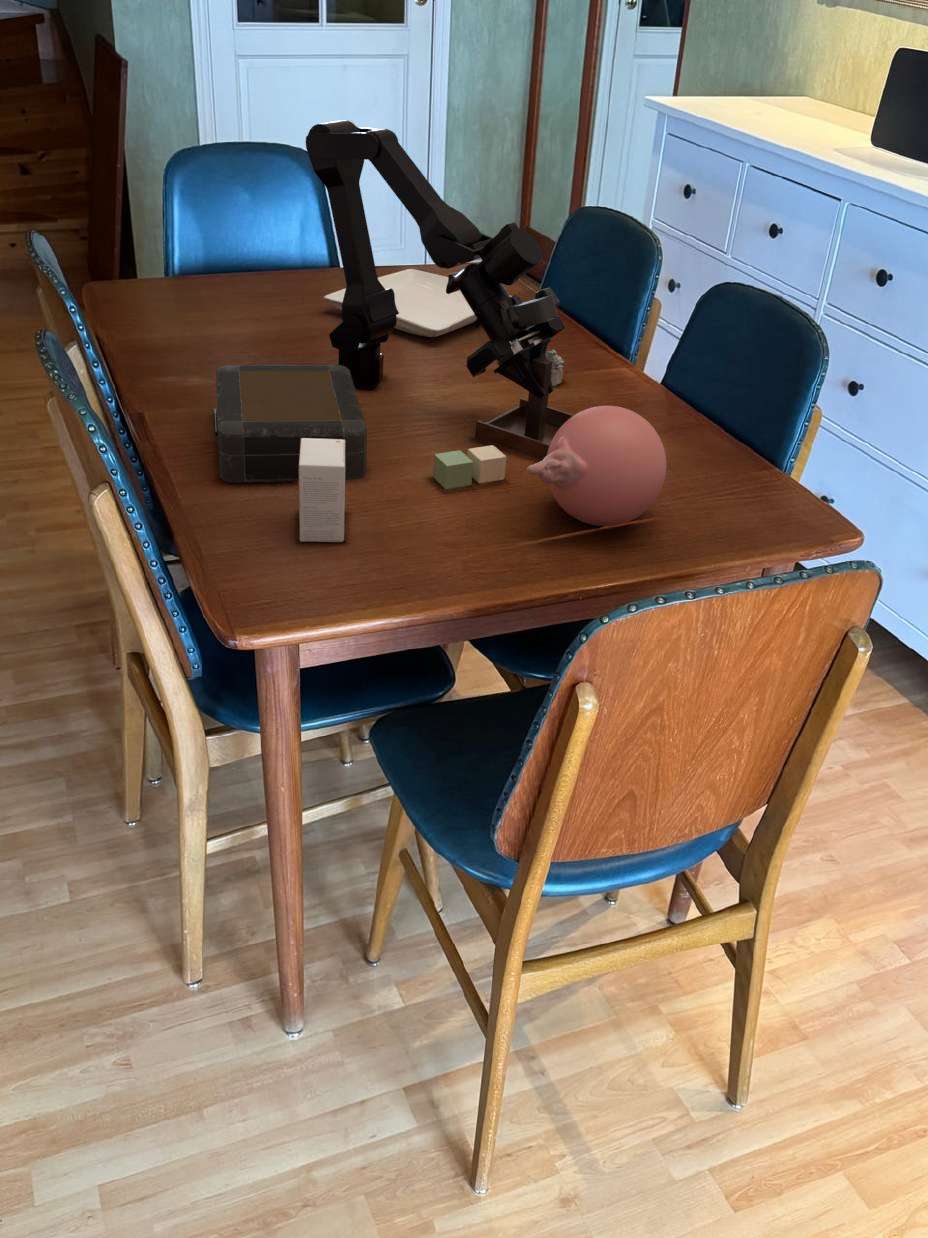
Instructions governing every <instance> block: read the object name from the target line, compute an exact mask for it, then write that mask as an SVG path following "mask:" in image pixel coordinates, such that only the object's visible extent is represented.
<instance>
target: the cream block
mask: <svg viewBox="0 0 928 1238" xmlns="http://www.w3.org/2000/svg"><path fill="white" fill-rule="evenodd" d="M466 456H467V457H468V458H469V459H470V460H472V461H473V471H472V479H473V480H475V481H476V482H477V483H478V484H483V483H484V484H485V483H491V482H496V481H502V480H505V476H506V465H507V455H506V454H504V452H502V451H501V450H499V448H497V447H496V446H495V445H494V444H493V445H485V446H479V447H472V448H467V454H466Z"/></svg>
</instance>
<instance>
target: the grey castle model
mask: <svg viewBox="0 0 928 1238" xmlns="http://www.w3.org/2000/svg"><path fill="white" fill-rule="evenodd" d="M546 359H547V360H550V361H552V369H551V382H552V387H555V386H557V385H559V384H561V383H562V382H563V377H564V369H563V368H564V367H565V360H564V359H563V358H562V357H561V356H560V355H558V354H557V351H556V350H555V349H554V348H552V349H551V350H547V349H546Z"/></svg>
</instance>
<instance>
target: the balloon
mask: <svg viewBox="0 0 928 1238" xmlns="http://www.w3.org/2000/svg"><path fill="white" fill-rule="evenodd" d="M573 415H574V416H572V417H571V418H570V419H569V420H567V421H566V422H565V423H564V424H563V425H562V426H561V427H560V429H559V430H558V431H557V433H556V434H555V436H554V438H553V439H552V441H551V444H550V446H549V449H548V453H547V456H546V457H545V458H544V459H543V460H540V461H539V462H536V463H535V464H531V465H528V467H527V468H526V472H527V474H528V475H534V476H538V478H539V481H541V482H542V483H543V484H545V485H548V487H549V490H550V492H551V494H552V496H553V498H554V500H555V501H556V502H557V504H558V505H559V507H560V508H561V509H563V510H564V512H565V513H567V514H568V515H569V516H571V517H573V518H574V519H576V520H578V521H580V522H582V523H585V524H587V525H591V526H595V527H613V526H614V527H615V526H619V525H623V524H626V523H628V522H631V521H633V520H634V519H637V518H638V517H640V516H641V515H643V514H644V513H645V512H646V511H648V510H649V508H650V507H651V506H652V505H653V504H654V503H655V501H656V500H657V498H658V497H659V495H660V493H661V492H662V489H663V485H664V483H665V480H666V475H667V455H666V449H665V447H664V444H663V442H662V439H661V437H660V435H659V434H658V432H657V430H656V429H655V428H654V426H653V425H652V424H651V423H650V422H649V421H648V420H646V419H645V417H643V416H641V415H640V414H639V413H637V412H635V411H632V410H631V409H628V408H626V407H622V406H616V405H598V406H593V407H589V408H585V409H583V410H581V411H579V412H577V413H576V414H573Z"/></svg>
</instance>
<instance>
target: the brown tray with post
mask: <svg viewBox="0 0 928 1238" xmlns="http://www.w3.org/2000/svg"><path fill="white" fill-rule="evenodd" d="M532 367H533V369H534V371H535V373H536V375H537V377H538V379H539V381H540V383H541V385H542V387H543V389H544V392H545V396H544V397H542V398H538V397H536V396H535V395H533V394H532V393H530V392H529V391H528V398H527V399H526V398H524V397H521V398H519V405H517V406H516V407H513V408H512V409H510V410H507V411H506V412H504V413H501V414H499V415H498V416H496V417H494V418H493V419H490V420H489V421H486V422H485V421H482V420H476V422H475V432H474V433H475V434H474V437H475V438H476V439H480V440H482V441H485V442H488V443H491V444H493V445H497V446H500V447H503V448H504V449H505V448H506V449H508V450H511V451H514V452H518V453H520V454H524V455H526V456H529V457H532V458H534V459H537V460H540V461H543V459H544V458H545V457H546V456H547V453H548V449H549V446H550V444H551V441H552V439H553V438H554V436H555V434H556V433H557V431H558V430H559V429H560V427H561V426H562V425H563V424H564V423H565V422H566V421H567V420H569V419H570V418H571V417H572V416H574V415H575V414H573V413H570V412H567V411H564V410H560V409H557V408H554V407H551V406H548V402H549V395H550V394H549V387H550V378H551V369H552V361H550V360H547V359H544V358H540V357H538V358H536V359H533V360H532Z"/></svg>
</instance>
